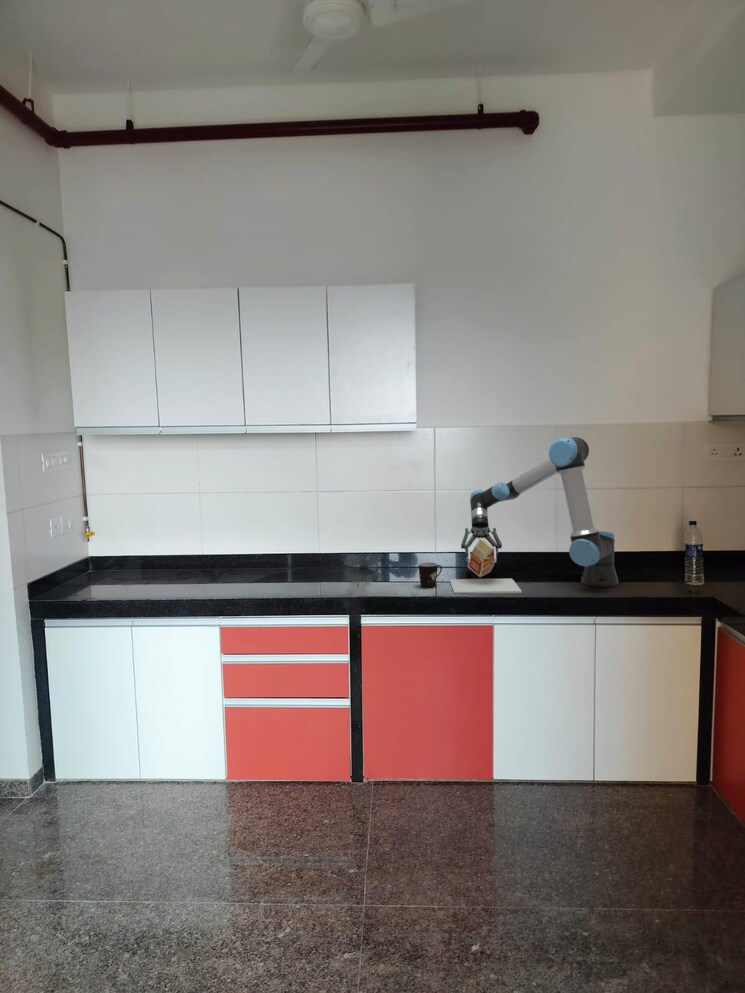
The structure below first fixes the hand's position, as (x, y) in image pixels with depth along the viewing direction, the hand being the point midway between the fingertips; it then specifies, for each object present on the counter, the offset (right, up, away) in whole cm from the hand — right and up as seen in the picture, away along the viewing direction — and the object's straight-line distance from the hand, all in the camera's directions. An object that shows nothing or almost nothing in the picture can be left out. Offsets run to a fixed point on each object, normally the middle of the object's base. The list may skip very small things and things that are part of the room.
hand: (482, 560), depth 280 cm
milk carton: (+2, -4, +11) cm, 12 cm away
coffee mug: (-22, -12, +2) cm, 25 cm away
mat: (+1, -11, -1) cm, 11 cm away
